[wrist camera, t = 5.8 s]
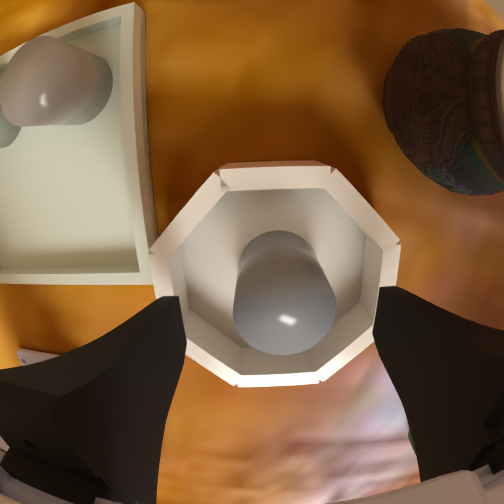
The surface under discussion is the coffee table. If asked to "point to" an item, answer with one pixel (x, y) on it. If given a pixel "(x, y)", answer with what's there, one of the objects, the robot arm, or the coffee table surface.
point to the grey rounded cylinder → (282, 295)
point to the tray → (84, 174)
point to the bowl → (252, 225)
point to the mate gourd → (450, 108)
